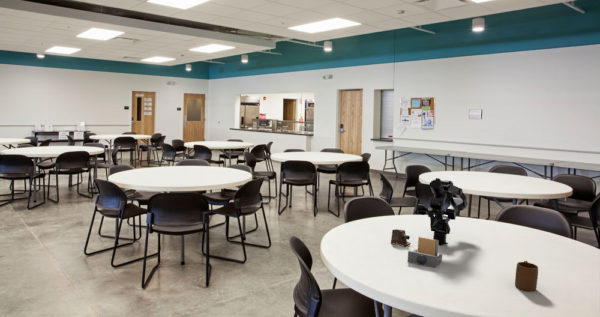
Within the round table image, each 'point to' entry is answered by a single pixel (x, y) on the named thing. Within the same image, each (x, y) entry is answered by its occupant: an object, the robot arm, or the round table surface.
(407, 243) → the electronic device
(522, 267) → the mug
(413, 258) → the grey cabinet body
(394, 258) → the round table surface
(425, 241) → the side door
